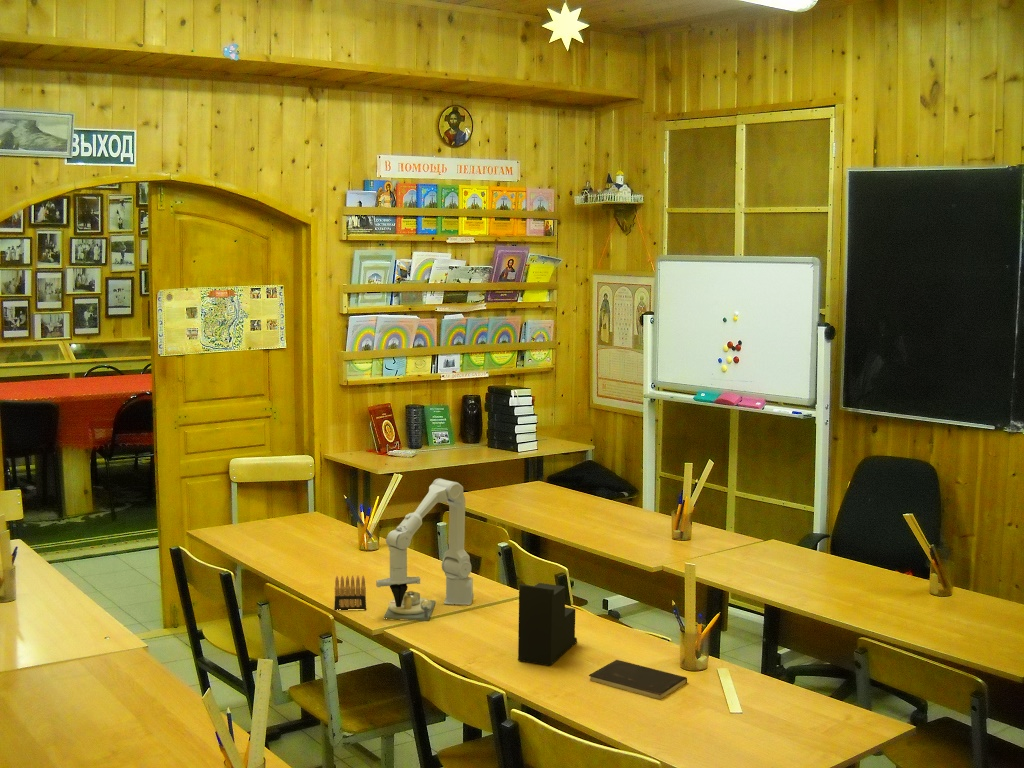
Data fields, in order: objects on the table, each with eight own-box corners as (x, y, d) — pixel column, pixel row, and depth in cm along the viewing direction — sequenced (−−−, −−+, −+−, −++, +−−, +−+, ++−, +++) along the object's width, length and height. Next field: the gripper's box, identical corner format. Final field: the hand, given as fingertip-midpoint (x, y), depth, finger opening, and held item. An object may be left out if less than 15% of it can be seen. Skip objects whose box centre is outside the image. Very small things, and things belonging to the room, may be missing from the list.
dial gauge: (431, 619, 370) (431, 599, 369) (431, 620, 369) (431, 600, 368) (420, 619, 370) (420, 599, 369) (420, 620, 369) (420, 600, 368)
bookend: (545, 637, 354) (546, 565, 351) (577, 642, 349) (579, 569, 347) (517, 661, 332) (518, 585, 330) (551, 667, 328) (552, 589, 325)
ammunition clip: (334, 611, 378) (334, 576, 376) (334, 609, 379) (334, 574, 378) (366, 610, 379) (365, 575, 377) (366, 608, 380) (366, 574, 379)
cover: (421, 600, 381) (421, 589, 381) (418, 606, 375) (418, 595, 374) (402, 600, 381) (402, 589, 381) (399, 605, 375) (399, 594, 374)
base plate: (435, 603, 387) (435, 600, 387) (428, 620, 368) (428, 618, 368) (392, 602, 388) (392, 599, 388) (383, 619, 369) (383, 616, 369)
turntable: (433, 601, 385) (433, 586, 384) (428, 614, 370) (428, 598, 370) (392, 600, 385) (392, 585, 385) (385, 613, 371) (385, 597, 370)
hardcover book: (659, 702, 305) (660, 693, 304) (588, 682, 318) (588, 674, 318) (687, 684, 317) (687, 676, 317) (617, 666, 331) (617, 658, 331)
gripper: (416, 561, 376) (416, 600, 377) (374, 564, 371) (374, 604, 372) (421, 567, 369) (421, 606, 371) (378, 570, 364) (378, 610, 366)
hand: (398, 606), depth 371 cm, fingers closed
